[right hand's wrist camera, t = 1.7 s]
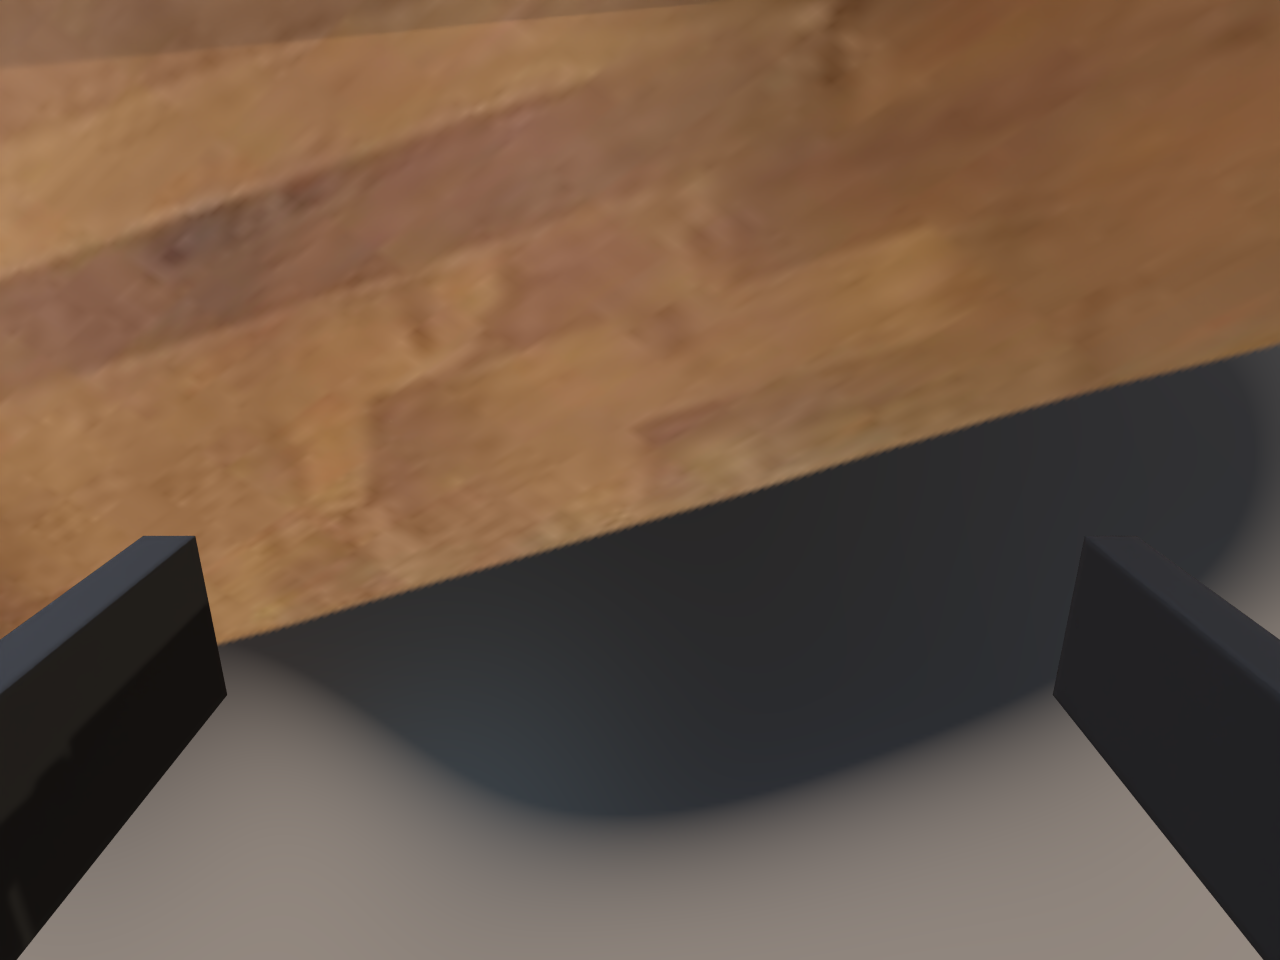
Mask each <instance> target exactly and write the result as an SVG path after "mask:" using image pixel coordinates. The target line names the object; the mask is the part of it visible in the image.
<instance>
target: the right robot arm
mask: <svg viewBox="0 0 1280 960" xmlns="http://www.w3.org/2000/svg"><path fill="white" fill-rule="evenodd" d="M226 696H227V692H226V687H225V682H224V677H223V672H222V667H221V662H220V657H219V652H218V647H217V642H216V637H215V632H214V627H213V622H212V617H211V612H210V607H209V602H208V597H207V592H206V587H205V582H204V577H203V572H202V567H201V562H200V558H199V553H198V548H197V543H196V538H195V536H143V537H141V538H140V539H138V540H137V541H136V542H134V543H133V544H132V545H130V546H129V547H127V548H126V549H125V550H123V551H122V552H121V553H119V554H118V555H116V556H115V557H114V558H112V559H111V560H110V561H108V562H107V563H105V564H104V565H103V566H101V567H100V568H99V569H97V570H96V571H94V572H93V573H92V574H90V575H89V576H87V577H86V578H85V579H83V580H82V581H81V582H79V583H78V584H76V585H75V586H74V587H72V588H71V589H70V590H68V591H67V592H65V593H64V594H63V595H61V596H60V597H59V598H57V599H56V600H54V601H53V602H52V603H50V604H49V605H48V606H46V607H45V608H43V609H42V610H41V611H39V612H38V613H37V614H35V615H34V616H32V617H31V618H30V619H28V620H27V621H25V622H24V623H23V624H21V625H20V626H19V627H17V628H16V629H14V630H13V631H12V632H10V633H9V634H8V635H6V636H5V637H3V638H2V639H1V640H0V960H17V959H18V957H19V956H20V955H21V954H22V952H23V951H24V950H25V948H26V947H27V946H28V945H29V943H30V942H31V941H32V940H33V938H34V937H35V936H36V935H37V933H38V932H39V931H40V930H41V928H42V927H43V926H44V925H45V923H46V922H47V921H48V920H49V918H50V917H51V916H52V914H53V913H54V912H55V911H56V909H57V908H58V907H59V906H60V904H61V903H62V902H63V901H64V899H65V898H66V897H67V896H68V894H69V893H70V892H71V891H72V889H73V888H74V887H75V886H76V884H77V883H78V882H79V881H80V879H81V878H82V877H83V876H84V874H85V873H86V872H87V871H88V869H89V868H90V867H91V865H92V864H93V863H94V862H95V860H96V859H97V858H98V857H99V855H100V854H101V853H102V852H103V850H104V849H105V848H106V847H107V845H108V844H109V843H110V842H111V840H112V839H113V838H114V836H115V835H116V834H117V833H118V831H119V830H120V829H121V828H122V826H123V825H124V824H125V823H126V821H127V820H128V819H129V818H130V816H131V815H132V814H133V813H134V811H135V810H136V809H137V808H138V806H139V805H140V804H141V803H142V801H143V800H144V799H145V798H146V796H147V795H148V794H149V792H150V791H151V790H152V789H153V787H154V786H155V785H156V784H157V782H158V781H159V780H160V779H161V777H162V776H163V775H164V774H165V772H166V771H167V770H168V769H169V767H170V766H171V765H172V764H173V762H174V761H175V760H176V759H177V757H178V756H179V755H180V754H181V752H182V751H183V750H184V748H185V747H186V746H187V745H188V743H189V742H190V741H191V740H192V738H193V737H194V736H195V735H196V733H197V732H198V731H199V730H200V728H201V727H202V726H203V725H204V723H205V722H206V721H207V720H208V718H209V717H210V716H211V715H212V713H213V712H214V711H215V709H216V708H217V707H218V706H219V704H220V703H221V702H222V701H223V699H224V698H225V697H226ZM1053 696H1054V697H1055V698H1056V699H1057V701H1058V702H1059V703H1060V704H1061V706H1062V707H1063V708H1064V710H1065V711H1066V712H1067V713H1068V715H1069V716H1070V717H1071V718H1072V720H1073V721H1074V722H1075V723H1076V725H1077V726H1078V727H1079V728H1080V730H1081V731H1082V732H1083V733H1084V735H1085V736H1086V737H1087V738H1088V740H1089V741H1090V742H1091V743H1092V745H1093V746H1094V747H1095V748H1096V750H1097V751H1098V752H1099V754H1100V755H1101V756H1102V757H1103V758H1104V760H1105V761H1106V762H1107V764H1108V765H1109V766H1110V767H1111V769H1112V770H1113V771H1114V772H1115V774H1116V775H1117V776H1118V777H1119V779H1120V780H1121V781H1122V782H1123V784H1124V785H1125V786H1126V787H1127V789H1128V790H1129V791H1130V792H1131V794H1132V795H1133V796H1134V797H1135V799H1136V800H1137V801H1138V803H1139V804H1140V805H1141V806H1142V808H1143V809H1144V810H1145V811H1146V813H1147V814H1148V815H1149V816H1150V818H1151V819H1152V820H1153V821H1154V823H1155V824H1156V825H1157V826H1158V828H1159V829H1160V830H1161V832H1162V833H1163V834H1164V835H1165V836H1166V838H1167V839H1168V840H1169V842H1170V843H1171V844H1172V845H1173V847H1174V848H1175V849H1176V850H1177V852H1178V853H1179V854H1180V855H1181V857H1182V858H1183V859H1184V860H1185V862H1186V863H1187V864H1188V865H1189V867H1190V868H1191V869H1192V870H1193V872H1194V873H1195V874H1196V876H1197V877H1198V878H1199V879H1200V881H1201V882H1202V883H1203V884H1204V886H1205V887H1206V888H1207V889H1208V891H1209V892H1210V893H1211V894H1212V896H1213V897H1214V898H1215V899H1216V901H1217V902H1218V903H1219V904H1220V906H1221V907H1222V908H1223V910H1224V911H1225V912H1226V913H1227V915H1228V916H1229V917H1230V918H1231V920H1232V921H1233V922H1234V923H1235V925H1236V926H1237V927H1238V928H1239V930H1240V931H1241V932H1242V933H1243V935H1244V936H1245V937H1246V938H1247V940H1248V941H1249V942H1250V943H1251V945H1252V946H1253V947H1254V948H1255V950H1256V951H1257V952H1258V954H1259V955H1260V956H1261V957H1262V959H1263V960H1280V640H1279V639H1278V638H1277V637H1275V636H1274V635H1272V634H1271V633H1270V632H1268V631H1267V630H1265V629H1264V628H1263V627H1261V626H1260V625H1259V624H1257V623H1256V622H1254V621H1253V620H1252V619H1250V618H1249V617H1248V616H1246V615H1245V614H1243V613H1242V612H1241V611H1239V610H1238V609H1237V608H1235V607H1234V606H1232V605H1231V604H1230V603H1228V602H1227V601H1226V600H1224V599H1223V598H1221V597H1220V596H1219V595H1217V594H1216V593H1215V592H1213V591H1212V590H1210V589H1209V588H1208V587H1206V586H1205V585H1204V584H1202V583H1201V582H1199V581H1198V580H1197V579H1195V578H1194V577H1193V576H1191V575H1190V574H1188V573H1187V572H1186V571H1184V570H1183V569H1181V568H1180V567H1179V566H1177V565H1176V564H1175V563H1173V562H1172V561H1170V560H1169V559H1168V558H1166V557H1165V556H1164V555H1162V554H1161V553H1159V552H1158V551H1157V550H1155V549H1154V548H1152V547H1151V546H1150V545H1148V544H1147V543H1146V542H1144V541H1143V540H1141V539H1140V538H1139V537H1137V536H1085V538H1084V543H1083V548H1082V553H1081V558H1080V563H1079V567H1078V573H1077V577H1076V582H1075V587H1074V592H1073V597H1072V602H1071V607H1070V612H1069V617H1068V622H1067V627H1066V632H1065V637H1064V642H1063V647H1062V652H1061V657H1060V662H1059V667H1058V672H1057V677H1056V682H1055V687H1054V692H1053Z"/></svg>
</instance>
